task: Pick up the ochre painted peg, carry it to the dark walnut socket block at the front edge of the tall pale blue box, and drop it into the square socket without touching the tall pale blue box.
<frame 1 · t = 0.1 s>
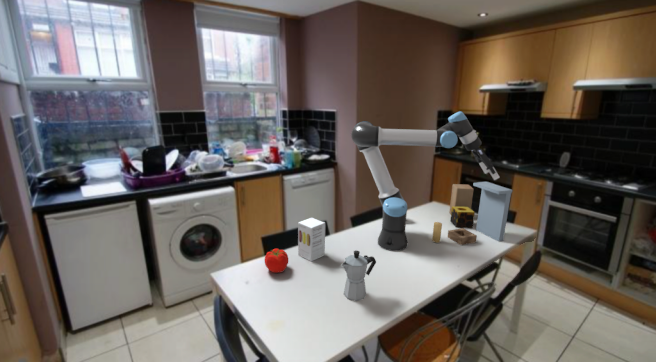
hand: (492, 175, 160), 36 cm above the table, tool tilted 35°, fingers open, 13 cm apart
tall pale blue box: (484, 235, 175), on the table
peg: (436, 241, 168), on the table
wooden block: (459, 216, 204), on the table
socket block: (461, 239, 170), on the table
supplement box: (311, 255, 152), on the table
tomato: (277, 270, 139), on the table
yellow black tissue box: (461, 225, 190), on the table
coffee maker: (357, 293, 123), on the table
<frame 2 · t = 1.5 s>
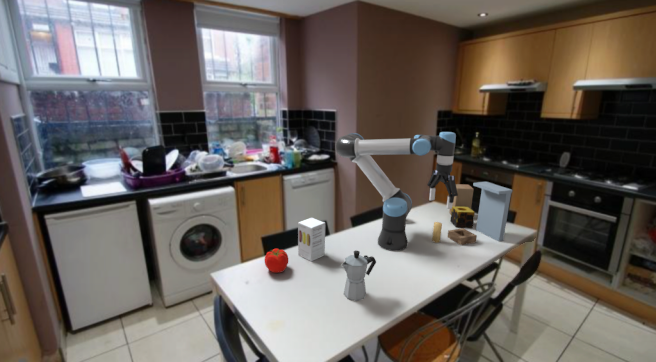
hand: (440, 204, 163), 21 cm above the table, tool pointing down, fingers open, 13 cm apart
nothing on the table moved.
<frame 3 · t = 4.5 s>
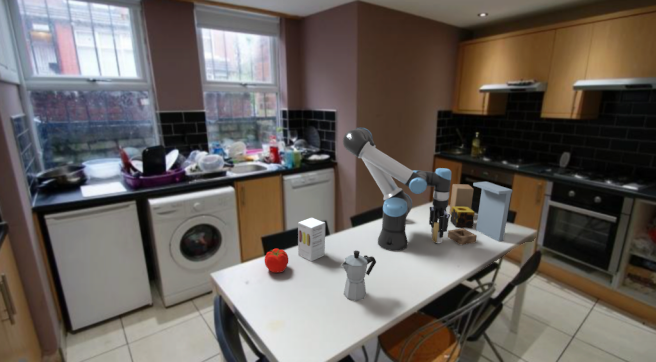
hand: (436, 240, 168), 0 cm above the table, tool pointing down, fingers closed on peg, 4 cm apart
peg: (436, 241, 168), on the table, touching gripper
everything else where it was.
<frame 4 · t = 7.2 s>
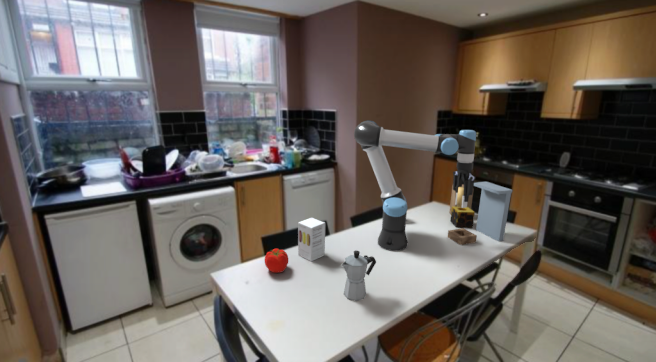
hand: (461, 205, 164), 19 cm above the table, tool pointing down, fingers closed on peg, 4 cm apart
peg: (460, 206, 164), point 19 cm above the table, touching gripper
everything else where it was.
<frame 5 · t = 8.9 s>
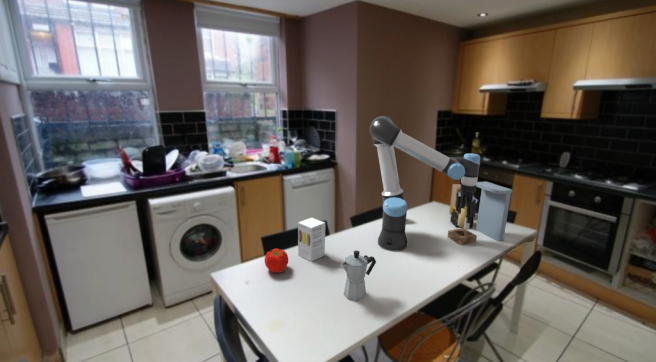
hand: (463, 226, 168), 8 cm above the table, tool pointing down, fingers closed on peg, 4 cm apart
peg: (463, 227, 168), point 7 cm above the table, touching gripper
everything else where it was.
when the fingers open (6 cm above the table, at t = 10.2 s): peg drops 3 cm, resting in socket block.
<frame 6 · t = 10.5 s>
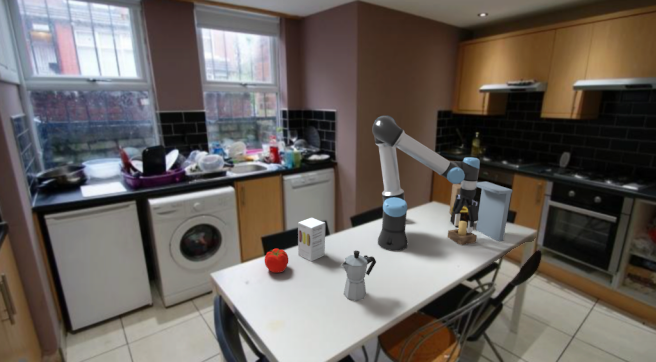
hand: (462, 228, 168), 6 cm above the table, tool pointing down, fingers open, 9 cm apart
peg: (461, 239, 170), resting in socket block
everything else where it was.
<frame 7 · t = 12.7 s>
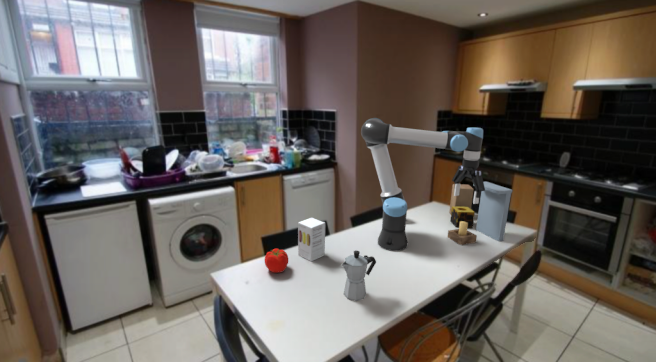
hand: (465, 199, 164), 23 cm above the table, tool pointing down, fingers open, 13 cm apart
nothing on the table moved.
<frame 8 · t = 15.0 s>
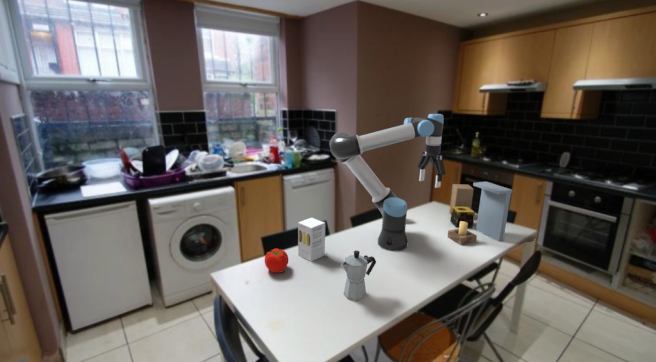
hand: (429, 184, 170), 29 cm above the table, tool pointing down, fingers open, 13 cm apart
nothing on the table moved.
at the end: peg 0.2 cm off-centre on the socket block, point 0.0 cm above the socket block's base; peg tilted 0°; the gripper is holding nothing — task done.
